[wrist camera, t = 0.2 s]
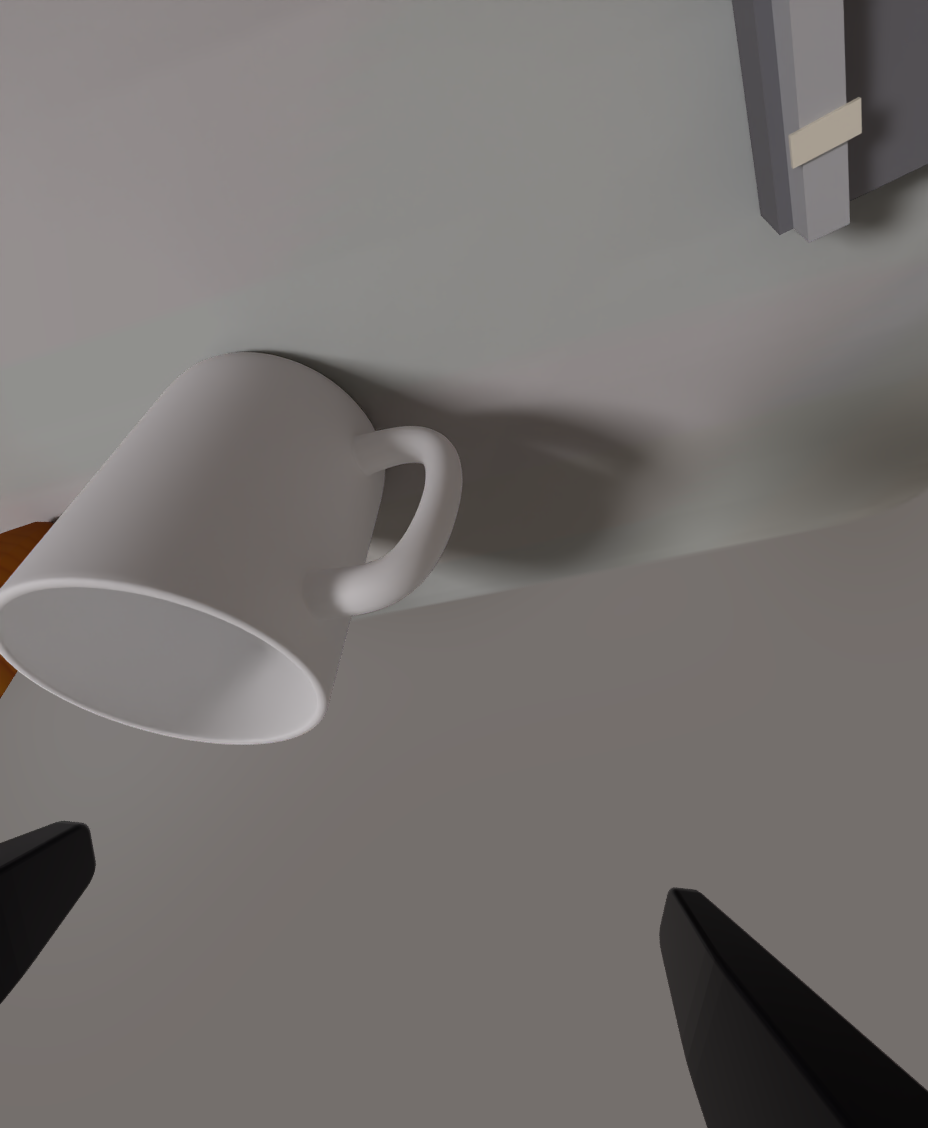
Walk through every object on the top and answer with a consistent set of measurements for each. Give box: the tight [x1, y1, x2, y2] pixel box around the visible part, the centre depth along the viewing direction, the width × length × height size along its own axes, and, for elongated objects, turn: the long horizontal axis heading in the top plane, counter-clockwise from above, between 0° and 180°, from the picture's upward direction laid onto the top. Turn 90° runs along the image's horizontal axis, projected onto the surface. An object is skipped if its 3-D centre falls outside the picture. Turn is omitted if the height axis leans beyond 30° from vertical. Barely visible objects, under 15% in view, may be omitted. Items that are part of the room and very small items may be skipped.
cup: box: [0, 352, 463, 745], centre depth 17 cm, size 8×12×10 cm
